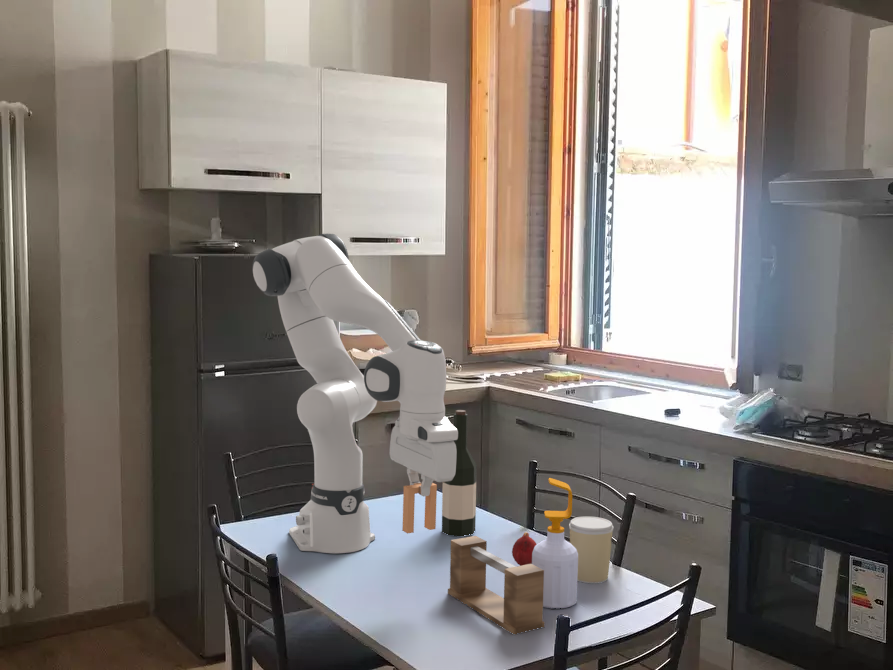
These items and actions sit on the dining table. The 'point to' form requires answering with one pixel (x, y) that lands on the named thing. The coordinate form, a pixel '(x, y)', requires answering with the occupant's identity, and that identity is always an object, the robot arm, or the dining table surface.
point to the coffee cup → (592, 547)
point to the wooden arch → (409, 508)
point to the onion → (523, 550)
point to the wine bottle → (460, 486)
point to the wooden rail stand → (469, 587)
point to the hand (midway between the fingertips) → (419, 493)
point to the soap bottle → (557, 559)
